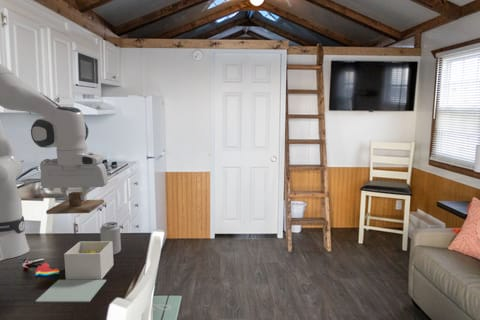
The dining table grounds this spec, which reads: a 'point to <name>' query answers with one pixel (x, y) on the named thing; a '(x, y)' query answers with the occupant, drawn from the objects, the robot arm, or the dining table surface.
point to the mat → (72, 291)
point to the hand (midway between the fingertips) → (76, 200)
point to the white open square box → (88, 260)
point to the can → (111, 235)
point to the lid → (75, 205)
